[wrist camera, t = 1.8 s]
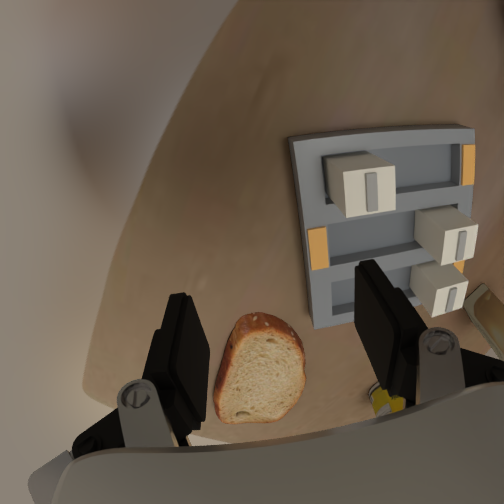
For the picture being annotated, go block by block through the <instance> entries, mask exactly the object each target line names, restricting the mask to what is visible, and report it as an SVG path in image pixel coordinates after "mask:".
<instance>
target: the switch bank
mask: <svg viewBox="0 0 504 504" xmlns="http://www.w3.org/2000/svg"><path fill="white" fill-rule="evenodd" d="M288 141H289V148H290V155H291V161H292V168H293V175H294V182H295V190H296V197H297V205H298V213H299V221H300V229H301V237H302V246H303V255H304V264H305V273H306V283H307V293H308V304H309V314H310V317H311V321H312V324H313V327H314V330H315V329H320V328H325V327H329V326H334V325H339V324H344V323H348V322H353V321H354V289H355V271H354V270H355V266H358V265H359V262H360V261H364V260H369V259H374V260H375V261H376V262H377V264H378V265H379V266H380V268H381V269H382V271H383V272H384V273H385V275H386V276H387V278H388V279H389V281H390V282H391V283H392V285H393V286H394V288H396V287H399V288H400V289H401V290H402V291H403V292H404V294H405V295H406V297H407V298H408V299H409V301H410V302H411V304H412V305H413V307H414V306H417V305H421V304H422V303H421V302H420V301H419V299H418V298H417V296H416V295H415V294H414V292H413V291H412V290H411V288H410V287H409V285H410V276H411V267H412V265H416V264H420V263H425V262H429V261H433V260H435V259H434V258H433V257H432V256H431V255H430V254H429V253H428V252H427V251H426V250H425V249H424V248H423V247H422V246H421V245H420V244H419V243H418V242H417V241H416V240H415V239H414V227H415V210H418V209H424V208H430V207H437V206H443V205H449V204H450V205H451V206H453V207H454V208H456V209H457V210H459V211H460V212H462V213H463V214H464V215H466V216H467V217H469V218H471V208H472V197H473V184H474V173H475V129H473V128H470V127H466V126H462V125H459V124H449V125H410V126H391V127H376V128H364V129H353V130H343V131H333V132H324V133H316V134H308V135H301V136H294V137H288ZM362 151H368V152H370V153H372V154H374V155H376V156H378V157H379V158H381V159H383V160H385V161H387V162H389V163H391V164H393V165H395V185H396V210H392V211H386V212H380V213H374V214H367V215H361V216H355V217H349V218H346V217H345V216H344V215H343V213H342V212H341V211H340V210H339V208H338V207H337V206H336V205H335V204H334V202H333V201H332V200H331V199H330V198H329V196H328V195H327V192H326V182H325V173H324V164H323V156H328V155H336V154H344V153H353V152H362ZM464 262H465V260H462V261H458V262H454V263H452V264H453V265H454V266H455V267H456V268H457V269H458V270H459V271H460V272H461V273H463V267H464Z"/></svg>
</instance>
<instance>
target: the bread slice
mask: <svg viewBox="0 0 504 504" xmlns="http://www.w3.org/2000/svg"><path fill="white" fill-rule="evenodd" d="M304 367H305V352H304V348H303V344H302V341H301V339H300V338H299V336H298V335H297V333H296V332H295V331H294V330H293V328H292V327H291V326H290V325H289V324H287V323H286V322H284V321H283V320H281V319H279V318H277V317H275V316H273V315H269V314H265V313H262V312H255V313H251V314H247V315H244V316H242V317H241V318H240V319H239V320H238V321H237V322H236V325H235V328H234V329H233V331H232V333H231V336H230V338H229V339H228V342H227V346H226V349H225V351H224V357H223V360H222V364H221V367H220V370H219V374H218V377H217V380H216V385H215V391H214V397H213V399H214V403H215V412H216V414H217V416H218V418H219V419H220V420H221V421H222V422H223V423H226V424H240V423H271V422H275V421H278V420H280V419H281V418H283V417H284V416H285V415H286V414H287V413H288V412H289V410H290V409H291V408H292V407H293V406H294V405H295V404H296V402H297V400H298V399H299V397H300V396H301V394H302V391H303V389H304V386H305V382H306V375H305V372H304Z"/></svg>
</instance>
